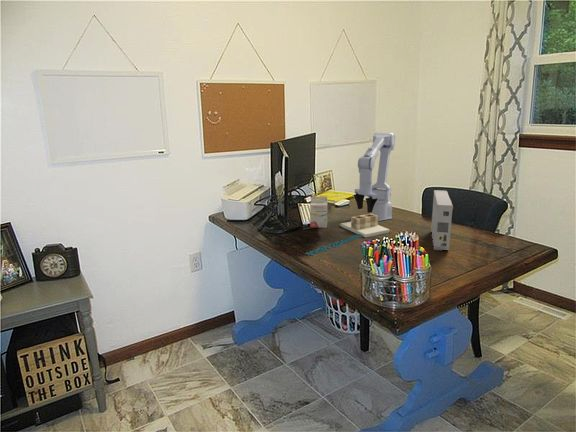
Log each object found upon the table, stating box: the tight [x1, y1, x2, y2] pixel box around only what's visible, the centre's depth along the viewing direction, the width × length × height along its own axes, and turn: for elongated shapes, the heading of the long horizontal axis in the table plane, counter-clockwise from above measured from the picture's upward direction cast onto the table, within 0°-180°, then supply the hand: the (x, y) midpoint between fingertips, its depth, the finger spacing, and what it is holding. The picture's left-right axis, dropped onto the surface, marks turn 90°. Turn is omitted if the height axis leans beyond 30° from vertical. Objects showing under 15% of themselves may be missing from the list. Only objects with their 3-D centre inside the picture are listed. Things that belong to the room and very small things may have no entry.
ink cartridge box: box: [309, 196, 328, 229], centre depth 207 cm, size 9×5×15 cm, turn 84°
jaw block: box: [350, 212, 379, 230], centre depth 201 cm, size 5×12×5 cm, turn 117°
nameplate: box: [304, 234, 363, 256], centre depth 183 cm, size 37×1×5 cm
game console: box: [430, 189, 454, 251], centre depth 180 cm, size 6×27×20 cm, turn 164°
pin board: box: [340, 221, 391, 238], centre depth 202 cm, size 14×20×5 cm
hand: (364, 210), depth 200 cm, fingers open, 7 cm apart
